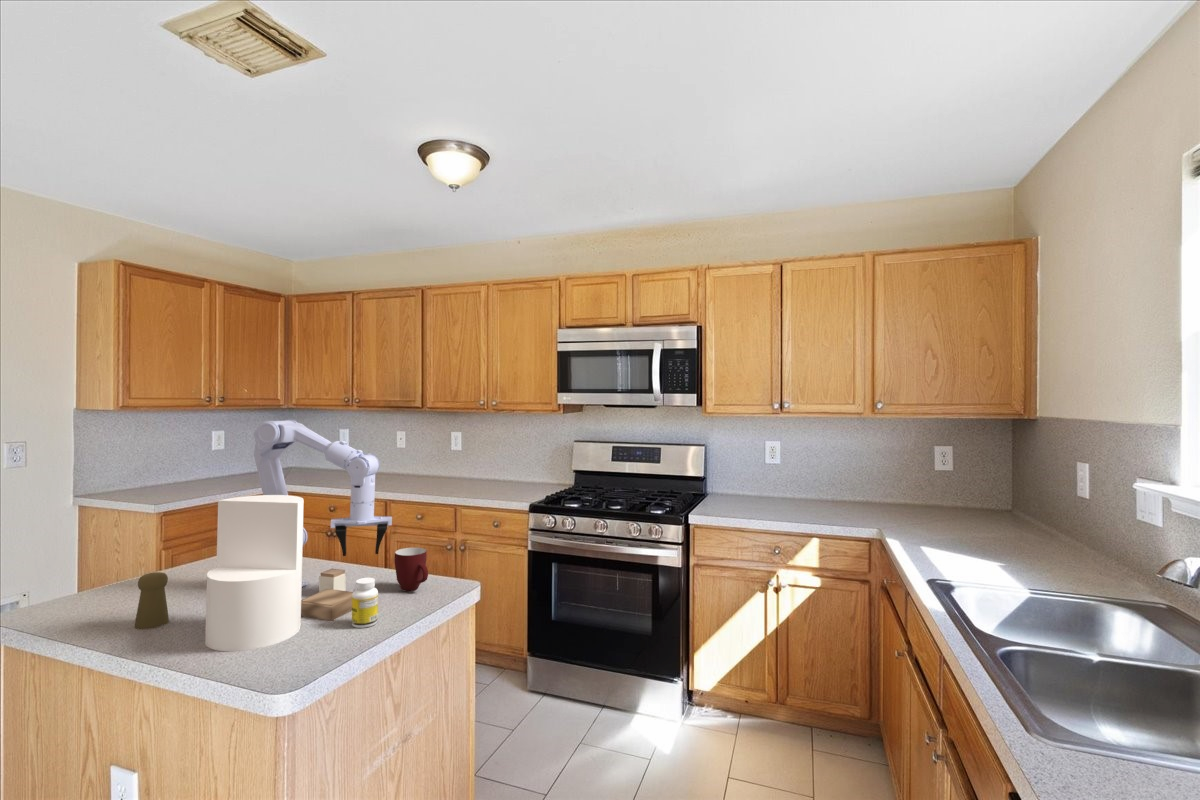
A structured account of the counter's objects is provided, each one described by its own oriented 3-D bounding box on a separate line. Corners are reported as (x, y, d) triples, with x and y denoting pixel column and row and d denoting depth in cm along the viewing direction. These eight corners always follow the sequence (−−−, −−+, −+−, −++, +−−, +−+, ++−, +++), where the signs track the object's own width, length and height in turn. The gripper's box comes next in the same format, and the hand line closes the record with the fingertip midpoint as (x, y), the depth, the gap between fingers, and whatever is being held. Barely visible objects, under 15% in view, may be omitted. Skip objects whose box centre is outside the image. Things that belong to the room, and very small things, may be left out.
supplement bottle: (351, 621, 128) (352, 577, 128) (377, 617, 130) (378, 575, 130) (351, 630, 123) (352, 585, 123) (378, 626, 125) (379, 582, 125)
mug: (439, 588, 151) (440, 551, 151) (417, 597, 144) (418, 558, 144) (409, 582, 155) (410, 546, 155) (386, 590, 148) (387, 552, 148)
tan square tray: (295, 615, 131) (295, 601, 131) (327, 600, 140) (327, 588, 140) (331, 620, 128) (331, 606, 128) (361, 605, 137) (361, 592, 137)
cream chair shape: (241, 616, 129) (244, 493, 129) (316, 619, 129) (319, 496, 129) (183, 649, 112) (187, 508, 112) (269, 653, 111) (272, 511, 111)
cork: (130, 631, 120) (131, 579, 120) (138, 621, 125) (139, 571, 125) (165, 626, 123) (167, 575, 123) (171, 616, 128) (173, 568, 128)
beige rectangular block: (318, 596, 143) (319, 572, 143) (331, 591, 147) (332, 568, 147) (333, 598, 142) (333, 574, 142) (345, 593, 146) (346, 569, 146)
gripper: (330, 505, 140) (328, 560, 140) (392, 503, 145) (390, 556, 145) (332, 500, 146) (330, 552, 146) (392, 498, 152) (390, 549, 152)
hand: (360, 554), depth 146 cm, fingers open, 7 cm apart
